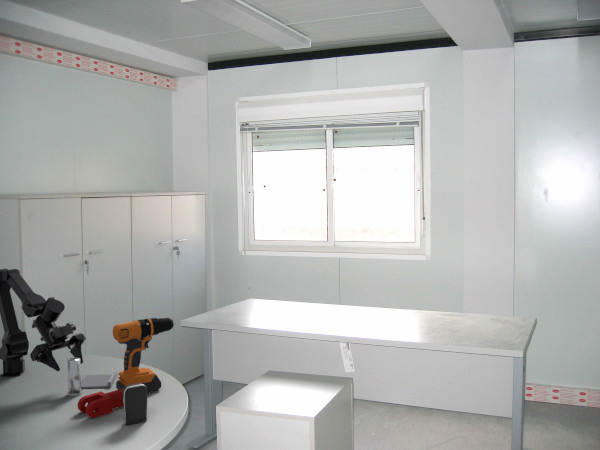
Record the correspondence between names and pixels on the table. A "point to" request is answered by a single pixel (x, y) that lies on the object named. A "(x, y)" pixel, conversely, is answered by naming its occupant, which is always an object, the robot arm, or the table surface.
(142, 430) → the table surface
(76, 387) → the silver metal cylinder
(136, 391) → the battery charger
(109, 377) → the bracket
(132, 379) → the power drill
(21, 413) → the table surface
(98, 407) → the mechanical linkage
